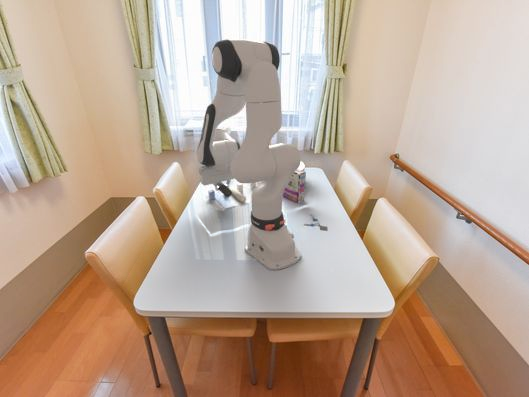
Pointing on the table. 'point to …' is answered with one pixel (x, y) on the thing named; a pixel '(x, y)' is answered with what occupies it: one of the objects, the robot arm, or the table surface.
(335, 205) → the table surface
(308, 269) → the table surface
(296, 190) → the candy bar box
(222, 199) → the rod display rack
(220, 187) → the dark gray rod
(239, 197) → the rod
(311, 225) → the key chain
